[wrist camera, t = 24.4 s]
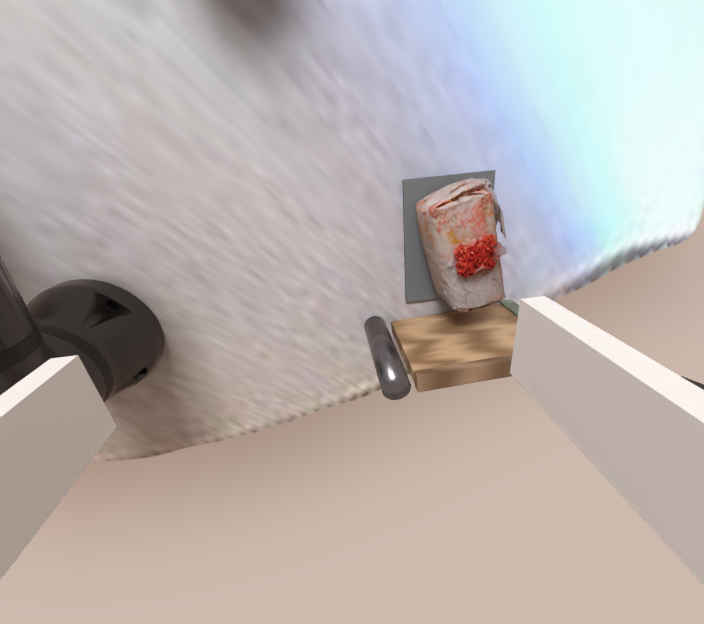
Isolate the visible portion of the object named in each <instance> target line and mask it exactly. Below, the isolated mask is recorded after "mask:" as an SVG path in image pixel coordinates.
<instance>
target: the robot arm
mask: <svg viewBox="0 0 704 624" xmlns="http://www.w3.org/2000/svg"><path fill="white" fill-rule="evenodd" d="M163 346H164V341H163V334H162V330H161V327H160V325H159V323H158V321H157V319H156V318H155V316H154V315H153V313H152V312H151V311H150V309H149V308H148V307H147V306H146V305H145V304H144V303H143V302H142V301H140V300H139V299H138V298H137V297H135V296H134V295H132V294H131V293H129V292H127V291H126V290H124V289H122V288H119V287H117V286H115V285H112V284H109V283H105V282H101V281H96V280H72V281H67V282H63V283H61V284H58V285H56V286H54V287H52V288H50V289H47V290H45V291H44V292H42V293H40V294H39V295H37V296H36V297H35V298H34V299H32V300H31V301H30V303H29V304H28V305H27V306H26V305H25V303H24V301H23V299H22V297H21V295H20V293H19V291H18V289H17V288H16V286H15V284H14V282H13V280H12V278H11V276H10V274H9V272H8V270H7V268H6V266H5V264H4V262H3V260H2V258H1V256H0V579H1V578H2V577H3V576H4V574H5V573H6V572H7V571H8V569H9V568H10V567H11V565H12V564H13V563H14V561H15V560H16V559H17V557H18V556H19V554H20V553H21V552H22V551H23V549H24V548H25V547H26V546H27V544H28V543H29V542H30V540H31V539H32V538H33V536H34V535H35V534H36V532H37V531H38V530H39V529H40V527H41V526H42V524H43V523H44V522H45V521H46V519H47V518H48V517H49V515H50V514H51V513H52V511H53V510H54V509H55V508H56V506H57V505H58V504H59V502H60V501H61V500H62V498H63V497H64V496H65V494H66V493H67V492H68V490H69V489H70V488H71V487H72V485H73V484H74V483H75V481H76V480H77V479H78V477H79V476H80V475H81V473H82V472H83V471H84V469H85V468H86V467H87V466H88V464H89V463H90V462H91V460H92V459H93V458H94V456H95V455H96V454H97V452H98V451H99V450H100V448H101V447H102V446H103V445H104V443H105V442H106V441H107V439H108V438H109V437H110V435H111V434H112V433H113V431H114V430H115V429H116V427H117V426H116V424H115V422H114V420H113V419H112V417H111V415H110V413H109V411H108V409H107V407H106V406H105V404H104V402H105V401H106V400H107V399H109V398H111V397H112V396H114V395H116V394H118V393H120V392H122V391H124V390H125V389H127V388H129V387H131V386H133V385H135V384H137V383H138V382H140V381H141V380H142V379H144V378H145V377H146V376H147V375H148V374H149V373H150V372H151V370H152V369H153V368H154V367H155V365H156V364H157V363H158V361H159V359H160V357H161V355H162V352H163ZM510 374H511V375H512V376H513V377H514V378H515V379H516V380H517V381H518V382H519V384H520V385H521V386H522V387H523V388H524V389H525V390H526V391H527V392H528V393H529V395H531V397H532V398H533V399H534V400H535V401H536V402H537V403H538V404H539V406H540V407H541V408H542V409H543V410H544V411H545V412H546V413H547V414H548V415H549V416H550V418H551V419H552V420H553V421H554V422H555V423H556V424H557V425H558V426H559V427H560V428H561V430H562V431H563V432H564V433H565V434H566V435H567V436H568V437H569V438H570V439H571V441H572V442H573V443H574V444H575V445H576V446H577V447H578V448H579V449H580V450H581V452H582V453H583V454H584V455H585V456H586V457H587V458H588V459H589V460H590V461H591V463H592V464H593V465H594V466H595V467H596V468H597V469H598V470H599V471H600V473H601V474H602V475H603V476H604V477H605V478H606V479H607V480H608V481H609V482H610V484H611V485H612V486H613V487H614V488H615V489H616V490H617V491H618V492H619V493H620V494H621V495H622V497H623V498H624V499H625V500H626V501H627V502H628V503H629V504H630V505H631V506H632V508H633V509H634V510H635V511H636V512H637V513H638V514H639V515H640V516H641V518H642V519H643V520H644V521H645V522H646V523H647V524H648V525H649V526H650V527H651V529H652V530H653V531H654V532H655V533H656V534H657V535H658V536H659V537H660V538H661V539H662V541H663V542H664V543H665V544H666V545H667V546H668V547H669V548H670V549H671V551H672V552H673V553H674V554H675V555H676V556H677V557H678V558H679V559H680V560H681V561H682V563H683V564H684V565H685V566H686V567H687V568H688V569H689V570H690V571H691V572H692V574H693V575H694V576H695V577H696V578H697V579H698V580H699V581H700V582H701V583H702V585H703V586H704V385H703V384H701V383H698V382H695V381H693V380H690V379H688V378H685V377H683V376H679V375H677V374H676V373H674V372H672V371H670V370H669V369H667V368H665V367H664V366H662V365H660V364H659V363H657V362H655V361H653V360H652V359H650V358H648V357H647V356H645V355H643V354H642V353H640V352H638V351H637V350H635V349H633V348H632V347H630V346H628V345H626V344H625V343H623V342H621V341H620V340H618V339H616V338H615V337H613V336H611V335H610V334H608V333H606V332H604V331H602V330H601V329H599V328H598V327H596V326H594V325H593V324H591V323H589V322H588V321H586V320H584V319H582V318H581V317H579V316H577V315H576V314H574V313H572V312H570V311H569V310H567V309H565V308H564V307H562V306H560V305H559V304H557V303H555V302H554V301H552V300H550V299H549V298H547V297H545V296H541V297H533V298H525V299H520V305H519V312H518V319H517V326H516V333H515V340H514V347H513V354H512V361H511V368H510Z"/></svg>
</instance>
